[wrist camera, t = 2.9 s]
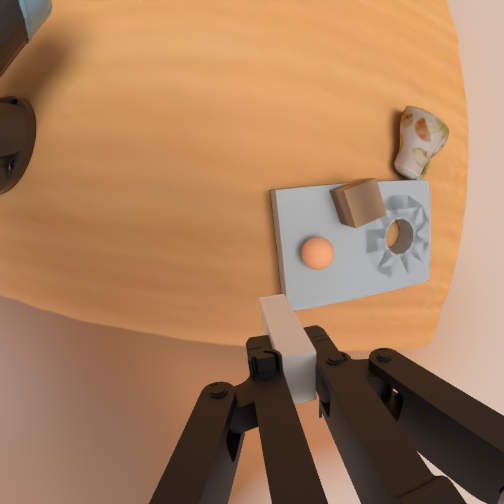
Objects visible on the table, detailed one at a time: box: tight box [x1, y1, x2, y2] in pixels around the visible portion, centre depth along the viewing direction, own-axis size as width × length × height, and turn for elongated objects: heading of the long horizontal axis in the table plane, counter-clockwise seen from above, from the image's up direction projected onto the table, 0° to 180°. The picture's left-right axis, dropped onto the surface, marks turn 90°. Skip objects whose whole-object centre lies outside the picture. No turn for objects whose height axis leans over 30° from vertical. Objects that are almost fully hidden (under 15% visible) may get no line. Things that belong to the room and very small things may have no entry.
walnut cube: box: [329, 178, 387, 228], centre depth 28 cm, size 4×4×4 cm
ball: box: [302, 237, 334, 270], centre depth 29 cm, size 4×4×4 cm
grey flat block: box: [270, 180, 431, 311], centre depth 33 cm, size 21×14×4 cm, turn 97°
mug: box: [394, 106, 449, 180], centre depth 30 cm, size 8×10×10 cm
